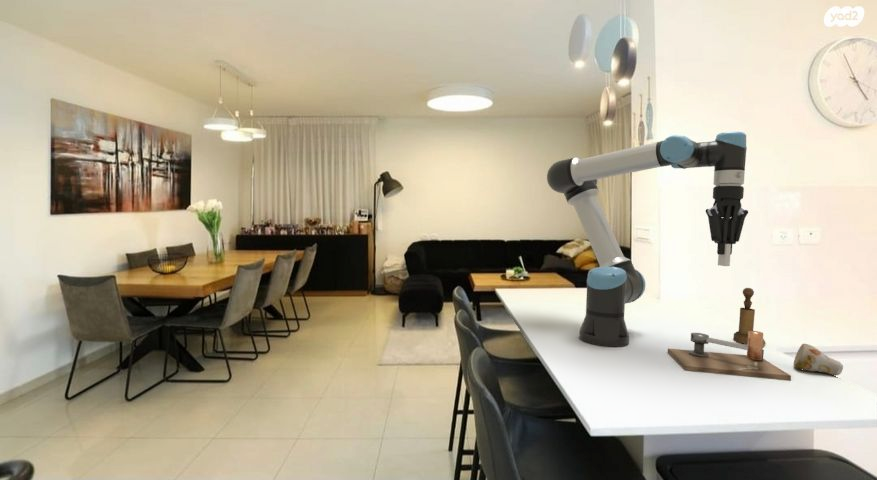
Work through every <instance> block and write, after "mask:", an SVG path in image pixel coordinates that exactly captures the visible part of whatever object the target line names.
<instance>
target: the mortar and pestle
mask: <svg viewBox="0 0 877 480" xmlns="http://www.w3.org/2000/svg"><path fill="white" fill-rule="evenodd" d="M742 294H743V296H744V298H745V299H744V300H743V306H744V307H740V308H739V321H738V331H736V332H734V333H733V336H732V337H733V341H734V342H735V341H736V342H735V343H738V342H740V344H742V343H744V344H745V345H748V331H754V325H755V311H756V309H755V308H751V306H752V304H753V302H752V301H751V299H752V297H753V296H754V295H755V291H754V290H753V288H751V287H745V288H743V290H742Z"/></svg>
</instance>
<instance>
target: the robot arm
mask: <svg viewBox="0 0 877 480" xmlns="http://www.w3.org/2000/svg"><path fill="white" fill-rule="evenodd" d="M746 157H747V134H746V133H745V132H742V131H725V132H720V133H718V134H716V137H715V139H714V140H712V141H704V142H696V141H694V140H692V139H690V138H689V137H687V136H685V135H679V134H673V135H670V136H667V137H666V138H665V139H664V140H660V141H655V142H651V143H647V144H643V145H639V146H633V147H630V148H623V149H621V150H615V151H611V152H607V153H603V154H602V153H601V154H598V155H595V156H590V157H586V158H579V157H577V156H576V157H572V158H567V159H561V160H558V161H556V162H554V163H552V165H550V167H548V168H549V169H548V170H547V173H546V182H547V184H548V186H549V187H550V189H551V190H552V191H554V192H556V193H559V194H560V193H561V194H563V195H564V197H565V199H566V202H567V204H568V205H570V206H573V207H574V210H575V212H576V214H577V216H578V219H579V222H580V223H581V225H582V229H583V230H584V232H585V236H586V237H587V239H588V242H589V244H590V247H591V249H592V251H593V253H594V255H595V257H596V259H597V262H598V264H599V267H597V266H596V267H594V268H591V269H590V270H589V271H588V273H587V278H586V301H585V302H586V303H585V304H586V305H585V317H584V319H583V320H582V321H583V322H582V323H581V326H580V329H579V331H578V332H579V335H578V336H579V337H578V338H579V339H580V340H581V341H583V342H585V343H589V344H592V345H596V346H601V347H602V346H605V347H624V346H628V345H629V344H630V335H629V332H628V328H627V325H626V321H625V320H626V319H625V309H626V307H625V306H626V304H631V303H634V302H636V301H637V300H639V299H640V298H641V297H642V296H643V294H644V292H645V291H646V280H645V278H644V276H643V274H642V273H641V272H640V271H639V270H637V269H636V268H635V266H634V264H633V262H632V260H631V259H630V258H627V257H626V256H625V255H624V253H623V252H622V250H621V247H620V244H619V242H618V240H617V239H616V236H615V233H614V231H613V229H612V227H611V225H610V223H609V220H608V218H607V217H606V214H605V212H604V210H603V208H602V205H601V203H600V201H599V199H598V193H599V187H598V185H597V184H598V179H604V178H605V179H606V178H609V177H615V176H620V175H626V174H631V173H635V172H636V173H637V172H641V171H646V170H650V169H651V170H652V169H655V168H662V167H668V166H671V168H672V169H682V170H685V169H686V170H687V169H691V168H693V169H695V168H705V167H707V168H709V167H714V169H713V172H714V173H713V186H714V187H713V190H712V199H713V200H714V202H713V204H712V205H713V206H711V208H706V209H705V213H706V215H707V218H708V219H707V220H708V224H709V233H710V239H711V241H712V242H714V243H715V244H717V247H716V248H717V251H716V253H717V256H718V257H717V266H722V267H731V266H730V265H731V255H732V253H733V245H736V244H737V242H740V238H741V235H742V231H743V226H744V224H745V219H746V217H747V215H748V214H749V210H747V209H743V207H742V203H741V201H742V200H743V199H744V194H745V193H744V191H745V188H744V186H742V185H744V184H745V173H746V172H745V170H746V159H747V158H746Z"/></svg>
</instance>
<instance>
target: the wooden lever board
mask: <svg viewBox="0 0 877 480" xmlns="http://www.w3.org/2000/svg"><path fill="white" fill-rule="evenodd" d="M693 343H694V345H693V349H692V350H691V349H690V350H689V349H680V348H679V349H678V348H667V353H668V355H670V356H671V358H672V359H674V360H675V362H676V363H678V365H679V366H681V368H682V369H683V370H684V371H688V372H700V373H709V374H720V375H721V374H722V375H730V376H738V377H739V376H741V377H749V378H750V377H751V378H761V379H774V380H781V381H782V380H783V381H791V380H792V375H791V374H789V373H788V372H786V371H785V370H782V369H781V368H780V367H778V366H776V365H774V364H772V363H771V362H770V361H768V360H766V359H765V358H764V353H765V352H764V351H765V350H764V348H765V347H766V340H765V338H763V348H762V360H752V359H749V358H747V354H738V353H737V354H736V353H726V352H715V351H705V344H700V343H695V342H693Z"/></svg>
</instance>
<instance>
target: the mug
mask: <svg viewBox="0 0 877 480" xmlns="http://www.w3.org/2000/svg"><path fill="white" fill-rule="evenodd" d="M793 367H794V368H796V369H798V368H799V370H801V369H803V370H802V371H804V370H809V371H808V372H814V371H819V372H818V373H824V372H825V373H824V374H827V375H831V376H833V377H834V376H835V377H836V376H839V375H841V374H842V372H843V369H844V365H843V364H842V363H841V361H839V360H836V359H833V358H831V357H829V356H828V355H826V354H825V353H823V352H822V351H821V350H820V349H818V348H816V347H815V346H813V345H811V344H807V343H802V344H801V345H800V346H799V348H798V350H797V352H796V354H795V357H794V360H793Z"/></svg>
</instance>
